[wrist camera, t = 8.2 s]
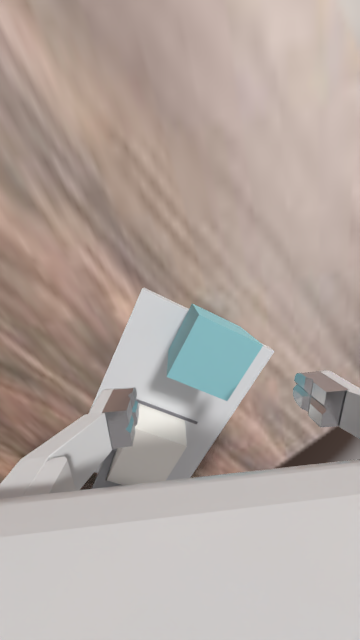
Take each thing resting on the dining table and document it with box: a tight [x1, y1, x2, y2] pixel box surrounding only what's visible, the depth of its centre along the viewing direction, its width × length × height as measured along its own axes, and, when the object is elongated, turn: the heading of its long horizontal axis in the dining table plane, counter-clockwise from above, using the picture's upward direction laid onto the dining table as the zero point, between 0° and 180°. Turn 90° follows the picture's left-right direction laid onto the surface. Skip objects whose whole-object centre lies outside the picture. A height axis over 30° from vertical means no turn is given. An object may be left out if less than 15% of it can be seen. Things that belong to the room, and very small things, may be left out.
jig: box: [90, 288, 274, 489], centre depth 17 cm, size 22×14×5 cm, turn 154°
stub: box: [167, 304, 263, 401], centre depth 14 cm, size 5×5×4 cm
